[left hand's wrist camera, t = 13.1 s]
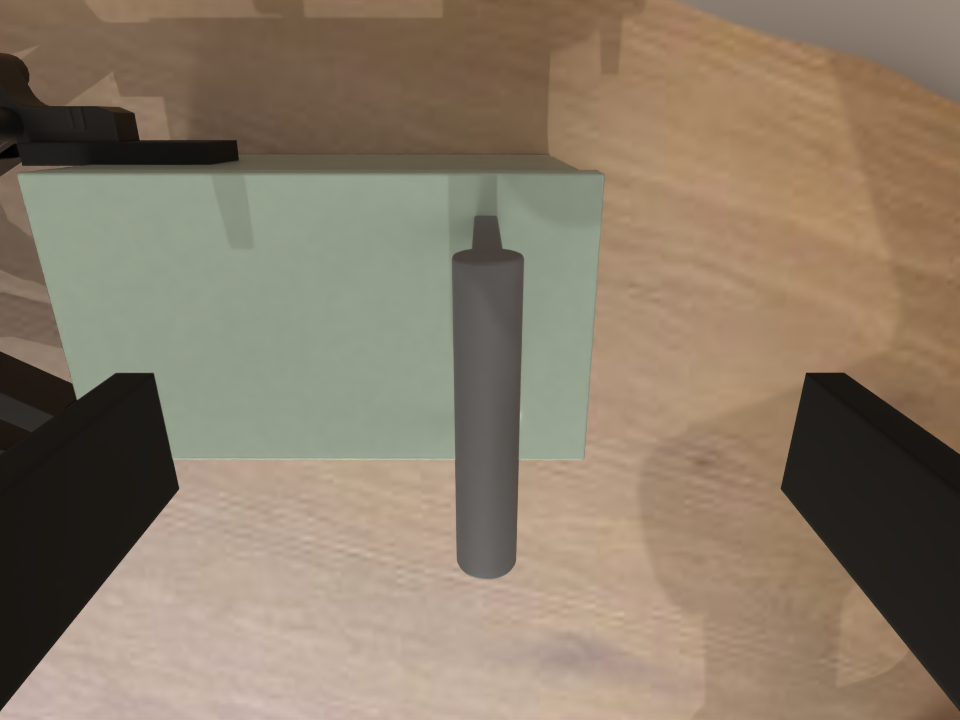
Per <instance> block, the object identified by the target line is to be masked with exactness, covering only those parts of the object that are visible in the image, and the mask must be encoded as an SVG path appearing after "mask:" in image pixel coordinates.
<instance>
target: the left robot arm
mask: <svg viewBox="0 0 960 720" xmlns="http://www.w3.org/2000/svg"><path fill="white" fill-rule="evenodd" d="M178 490H179V485H178V481H177V476H176V472H175V467H174V463H173V458H172V453H171V449H170V444H169V440H168V435H167V431H166V426H165V421H164V417H163V412H162V408H161V403H160V399H159V394H158V389H157V385H156V380H155V376H154V373H115V374H113V375H112V376H111V377H109V378H108V379H106V380H105V381H103V382H102V383H101V384H99V385H98V386H96V387H95V388H94V389H92V390H91V391H89V392H88V393H86V394H85V395H84V396H82V397H81V398H79V399H78V400H77V401H75V402H74V403H72V404H71V405H69V406H68V407H67V408H65V409H64V410H62V411H61V412H60V413H58V414H57V415H55V416H54V417H52V418H51V419H50V420H48V421H47V422H45V423H44V424H43V425H41V426H40V427H38V428H37V429H35V430H34V431H33V432H31V433H30V434H28V435H27V436H26V437H24V438H23V439H21V440H20V441H19V442H17V443H16V444H14V445H13V446H11V447H10V448H9V449H7V450H6V451H4V452H3V453H2V454H0V711H1V710H2V708H3V707H4V706H5V705H6V703H7V702H8V701H9V700H10V699H11V697H12V696H13V695H14V694H15V692H16V691H17V690H18V689H19V687H20V686H21V685H22V684H23V682H24V681H25V680H26V679H27V677H28V676H29V675H30V674H31V672H32V671H33V670H34V669H35V667H36V666H37V665H38V664H39V663H40V661H41V660H42V659H43V658H44V656H45V655H46V654H47V653H48V651H49V650H50V649H51V648H52V646H53V645H54V644H55V643H56V641H57V640H58V639H59V638H60V636H61V635H62V634H63V633H64V631H65V630H66V629H67V628H68V627H69V625H70V624H71V623H72V622H73V620H74V619H75V618H76V617H77V615H78V614H79V613H80V612H81V610H82V609H83V608H84V607H85V605H86V604H87V603H88V602H89V600H90V599H91V598H92V597H93V595H94V594H95V593H96V592H97V591H98V589H99V588H100V587H101V586H102V584H103V583H104V582H105V581H106V579H107V578H108V577H109V576H110V574H111V573H112V572H113V571H114V569H115V568H116V567H117V566H118V564H119V563H120V562H121V561H122V559H123V558H124V557H125V556H126V554H127V553H128V552H129V551H130V550H131V548H132V547H133V546H134V545H135V543H136V542H137V541H138V540H139V538H140V537H141V536H142V535H143V533H144V532H145V531H146V530H147V528H148V527H149V526H150V525H151V523H152V522H153V521H154V520H155V518H156V517H157V516H158V515H159V514H160V512H161V511H162V510H163V509H164V507H165V506H166V505H167V504H168V502H169V501H170V500H171V499H172V497H173V496H174V495H175V494H176V492H177V491H178ZM781 490H782V491H783V492H784V494H785V495H786V496H787V497H788V499H789V500H790V501H791V502H792V504H793V505H794V506H795V507H796V509H797V510H798V511H799V512H800V514H801V515H802V516H803V517H804V518H805V520H806V521H807V522H808V523H809V525H810V526H811V527H812V528H813V530H814V531H815V532H816V533H817V535H818V536H819V537H820V538H821V540H822V541H823V542H824V543H825V545H826V546H827V547H828V548H829V550H830V551H831V552H832V553H833V555H834V556H835V557H836V558H837V559H838V561H839V562H840V563H841V564H842V566H843V567H844V568H845V569H846V571H847V572H848V573H849V574H850V576H851V577H852V578H853V579H854V581H855V582H856V583H857V584H858V586H859V587H860V588H861V589H862V591H863V592H864V593H865V594H866V595H867V597H868V598H869V599H870V600H871V602H872V603H873V604H874V605H875V607H876V608H877V609H878V610H879V612H880V613H881V614H882V615H883V617H884V618H885V619H886V620H887V622H888V623H889V624H890V625H891V627H892V628H893V629H894V630H895V631H896V633H897V634H898V635H899V636H900V638H901V639H902V640H903V641H904V643H905V644H906V645H907V646H908V648H909V649H910V650H911V651H912V653H913V654H914V655H915V656H916V658H917V659H918V660H919V661H920V663H921V664H922V665H923V666H924V667H925V669H926V670H927V671H928V672H929V674H930V675H931V676H932V677H933V679H934V680H935V681H936V682H937V684H938V685H939V686H940V687H941V689H942V690H943V691H944V692H945V694H946V695H947V696H948V697H949V699H950V700H951V701H952V702H953V703H954V705H955V706H956V707H957V708H958V710H959V711H960V454H958V453H957V452H956V451H954V450H953V449H951V448H950V447H949V446H947V445H946V444H944V443H943V442H941V441H940V440H939V439H937V438H936V437H934V436H933V435H932V434H930V433H929V432H927V431H926V430H924V429H923V428H922V427H920V426H919V425H917V424H916V423H915V422H913V421H912V420H910V419H909V418H908V417H906V416H905V415H903V414H902V413H900V412H899V411H898V410H896V409H895V408H893V407H892V406H891V405H889V404H888V403H886V402H885V401H883V400H882V399H881V398H879V397H878V396H876V395H875V394H874V393H872V392H871V391H869V390H868V389H866V388H865V387H864V386H862V385H861V384H859V383H858V382H857V381H855V380H854V379H852V378H851V377H849V376H848V375H847V374H845V373H806V376H805V380H804V385H803V389H802V394H801V399H800V403H799V408H798V412H797V417H796V421H795V426H794V431H793V435H792V440H791V444H790V449H789V453H788V458H787V463H786V467H785V472H784V476H783V481H782V485H781Z"/></svg>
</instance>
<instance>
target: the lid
mask: <svg viewBox="0 0 960 720" xmlns="http://www.w3.org/2000/svg"><path fill="white" fill-rule="evenodd" d="M17 178H18V181H19V185H20V189H21V193H22V196H23V200H24V204H25V208H26V211H27V215H28V219H29V223H30V226H31V230H32V234H33V238H34V241H35V245H36V249H37V252H38V256H39V260H40V264H41V267H42V271H43V275H44V279H45V282H46V286H47V290H48V294H49V297H50V301H51V305H52V309H53V312H54V316H55V320H56V324H57V327H58V331H59V335H60V338H61V342H62V346H63V350H64V353H65V357H66V361H67V365H68V368H69V372H70V376H71V380H72V383H73V387H74V391H75V395H76V398H77V400H78V399H79V398H81V397H82V396H84V395H85V394H86V393H88V392H89V391H91V390H92V389H94V388H95V387H96V386H98V385H99V384H101V383H102V382H103V381H105V380H106V379H108V378H109V377H111V376H112V375H113V374H115V373H154V376H155V380H156V385H157V389H158V394H159V399H160V403H161V408H162V412H163V417H164V421H165V426H166V431H167V435H168V440H169V444H170V449H171V453H172V458H173V459H312V460H455V478H456V537H457V562H458V564H459V566H460V568H461V569H462V570H463V571H464V572H465V573H466V574H468V575H470V576H472V577H475V578H478V579H495V578H499V577H502V576H504V575H506V574H507V573H508V572H510V571H511V569H512V568H513V566H514V565H515V562H516V542H517V505H518V469H519V460H583V459H584V455H585V441H586V428H587V414H588V400H589V386H590V372H591V359H592V345H593V331H594V317H595V303H596V289H597V276H598V262H599V248H600V234H601V220H602V207H603V193H604V179H605V175H604V174H603V173H601V172H599V171H596V170H38V171H29V172H20V173H18V174H17Z"/></svg>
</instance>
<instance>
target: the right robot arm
mask: <svg viewBox="0 0 960 720" xmlns="http://www.w3.org/2000/svg"><path fill="white" fill-rule="evenodd" d="M28 82H29V72H28V69H27V67H26V65H25V64H24V62H23V61H22V60H20V59H19V58H18V57H16V56H13V55H10V54H4V53H0V176H2V175H3V174H5V173H6V172H7V171H9V170H10V169H12V168H13V167H15V166H16V165H18V164H19V163H21V162H22V166H84V165H212V164H219V163H225V162H231V161H238V160H239V156H238V149H237V141H236V140H139V135H138V130H137V125H136V119H135V114H134V113H133V112H130V111H128V110H125V109H123V108H120V107H101V106H48V105H45V104H44V103H42V102H41V101H40V100H38V99H37V98H36V97H35V95H34V94H33V92H32V91H31V89H30V87H29V86H28ZM75 401H77V398H76V395H75V391H74V387H73V384H72V383H70V382H67V381H65V380H63V379H61V378H58V377H56V376H54V375H52V374H49V373H47V372H45V371H43V370H40V369H38V368H36V367H34V366H31V365H29V364H27V363H25V362H23V361H20V360H18V359H16V358H14V357H11V356H9V355H7V354H5V353H2V352H0V454H2V453H3V452H4V451H6V450H7V449H9V448H10V447H11V446H13V445H14V444H16V443H17V442H19V441H20V440H21V439H23V438H24V437H26V436H27V435H28V434H30V433H31V432H33V431H34V430H35V429H37V428H38V427H40V426H41V425H43V424H44V423H45V422H47V421H48V420H50V419H51V418H52V417H54V416H55V415H57V414H58V413H60V412H61V411H62V410H64V409H65V408H67V407H68V406H69V405H71V404H72V403H74V402H75Z"/></svg>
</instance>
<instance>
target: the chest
mask: <svg viewBox="0 0 960 720" xmlns="http://www.w3.org/2000/svg"><path fill="white" fill-rule="evenodd" d="M238 156H239V160H238V161H231V162H225V163H219V164H212V165H84V166H75V167H66V168H57V169H48V170H578V169H576V168H574V167H572V166H570V165H568V164H566V163H564V162H562V161H560V160H558V159H556V158H554V157H552V156H551V155H549V154H238Z"/></svg>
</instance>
